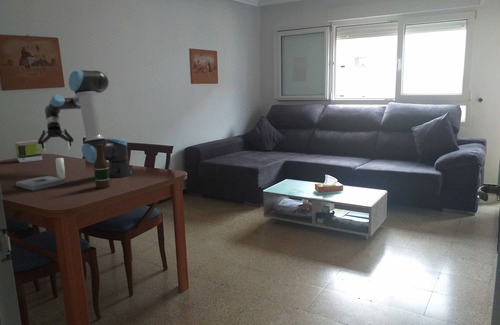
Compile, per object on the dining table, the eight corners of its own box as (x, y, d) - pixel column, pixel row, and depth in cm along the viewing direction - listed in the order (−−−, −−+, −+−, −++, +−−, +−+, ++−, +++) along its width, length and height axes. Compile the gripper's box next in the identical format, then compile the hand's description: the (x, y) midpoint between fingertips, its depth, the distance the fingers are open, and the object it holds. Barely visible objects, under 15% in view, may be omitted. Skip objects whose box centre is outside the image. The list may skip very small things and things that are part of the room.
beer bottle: (105, 184, 219) (102, 142, 214) (113, 186, 214) (109, 143, 209) (92, 187, 213) (88, 144, 208) (100, 189, 208) (96, 145, 203)
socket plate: (64, 183, 221) (64, 179, 221) (32, 190, 207) (31, 186, 206) (48, 179, 231) (47, 175, 231) (16, 186, 217) (15, 181, 216)
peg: (66, 177, 236) (64, 158, 234) (59, 179, 233) (57, 159, 230) (62, 176, 239) (61, 157, 236) (56, 178, 235) (53, 158, 233)
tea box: (39, 158, 300) (37, 139, 298) (42, 160, 293) (40, 141, 290) (17, 161, 291) (14, 141, 288) (19, 163, 284) (17, 143, 281)
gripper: (74, 127, 261) (79, 152, 251) (32, 130, 249) (35, 156, 239) (74, 120, 255) (79, 145, 245) (31, 122, 243) (34, 149, 233)
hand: (57, 151), depth 242 cm, fingers open, 13 cm apart
